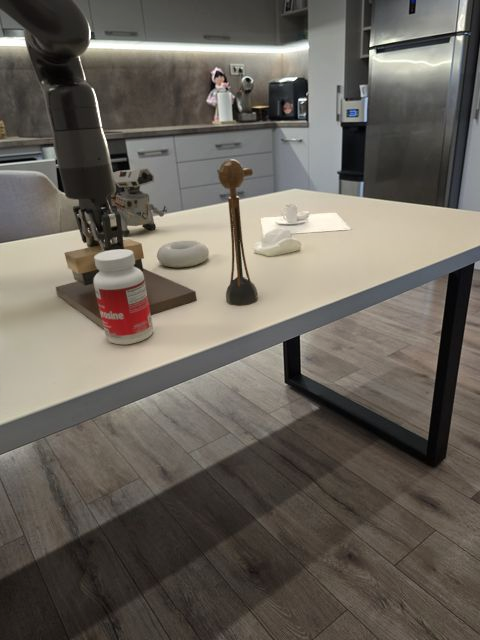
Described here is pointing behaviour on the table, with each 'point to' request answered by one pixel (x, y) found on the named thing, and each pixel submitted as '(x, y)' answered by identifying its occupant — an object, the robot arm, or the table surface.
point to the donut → (182, 254)
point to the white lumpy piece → (277, 243)
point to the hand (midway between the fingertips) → (108, 272)
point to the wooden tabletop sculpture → (237, 234)
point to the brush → (85, 262)
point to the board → (157, 287)
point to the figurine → (134, 200)
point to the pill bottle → (122, 297)
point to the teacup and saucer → (303, 221)
